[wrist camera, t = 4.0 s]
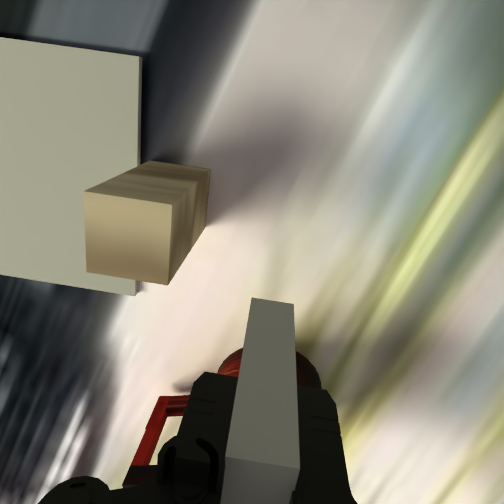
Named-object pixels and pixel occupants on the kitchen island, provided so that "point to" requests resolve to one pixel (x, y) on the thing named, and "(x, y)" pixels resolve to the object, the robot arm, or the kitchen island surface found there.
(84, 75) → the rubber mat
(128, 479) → the mug
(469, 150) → the kitchen island surface
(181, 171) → the maple block
